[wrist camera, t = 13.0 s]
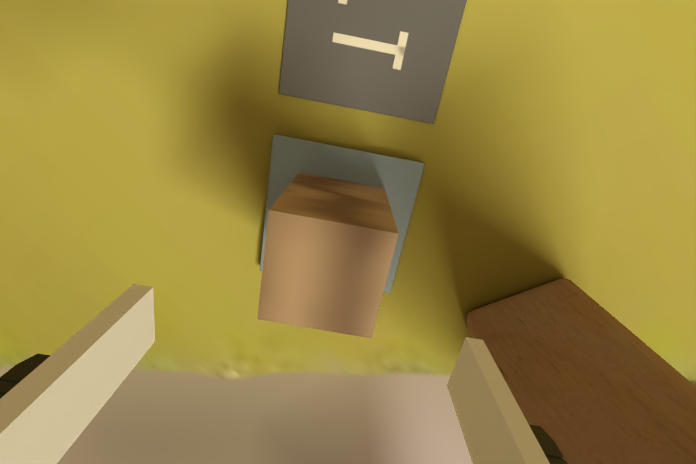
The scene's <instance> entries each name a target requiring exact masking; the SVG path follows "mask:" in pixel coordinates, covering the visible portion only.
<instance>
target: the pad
mask: <svg viewBox="0 0 696 464" xmlns="http://www.w3.org/2000/svg"><path fill="white" fill-rule="evenodd" d="M424 165H425V164H424V163H423V162H418V161H413V160H408V159H403V158H398V157H392V156H387V155H382V154H377V153H371V152H366V151H361V150H356V149H351V148H345V147H340V146H335V145H330V144H325V143H319V142H314V141H309V140H304V139H298V138H293V137H288V136H283V135H278V134H274V135H273V143H272V153H271V163H270V173H269V183H268V193H267V203H266V213H265V223H264V233H263V243H262V254H261V264H260V271H262V270H263V261H264V251H265V241H266V231H267V222H268V212H269V209H270V208H271V206H272V205H273V204H274V203H275V201H276V200H277V199H278V198H279V196H280V195H281V194H282V193H283V191H284V190H285V189H286V188H287V186H288V185H289V184H290V183H291V181H292V180H293V179H294V178H295V176H296V175H297V174H298V173H299V172H302V173H307V174H312V175H318V176H323V177H328V178H334V179H339V180H344V181H350V182H355V183H360V184H366V185H371V186H376V187H382V188H385V191H386V194H387V198H388V201H389V204H390V207H391V211H392V214H393V217H394V220H395V224H396V227H397V230H398V233H399V234H398V238H397V241H396V245H395V249H394V253H393V257H392V261H391V265H390V269H389V273H388V276H387V280H386V284H385V288H384V292H386V293H390V292H391V288H392V285H393V281H394V277H395V273H396V270H397V266H398V262H399V258H400V255H401V251H402V247H403V243H404V240H405V236H406V232H407V228H408V225H409V221H410V217H411V213H412V210H413V206H414V202H415V198H416V195H417V191H418V187H419V183H420V180H421V176H422V172H423V168H424Z"/></svg>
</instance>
